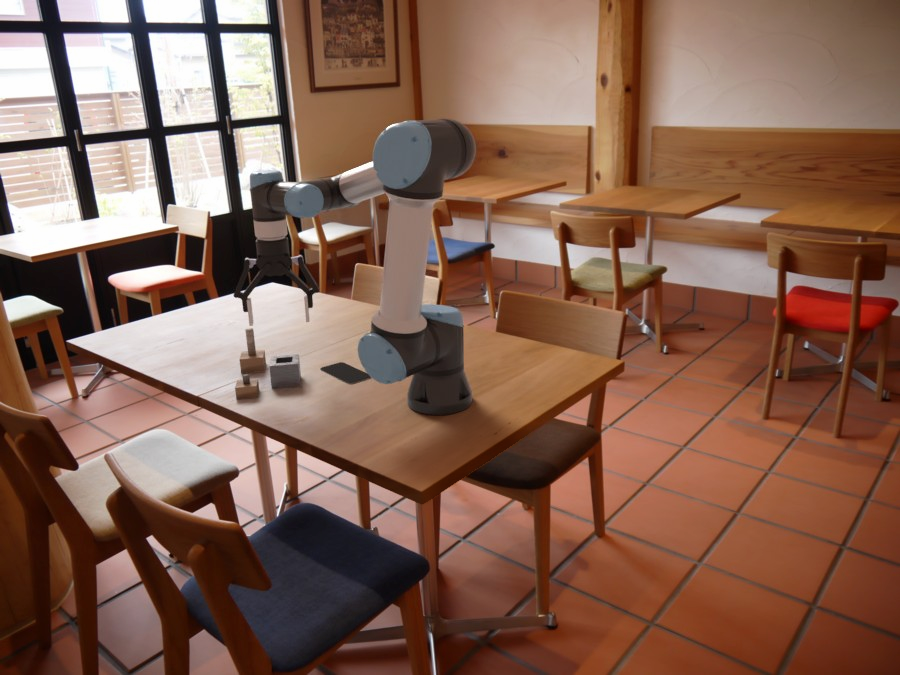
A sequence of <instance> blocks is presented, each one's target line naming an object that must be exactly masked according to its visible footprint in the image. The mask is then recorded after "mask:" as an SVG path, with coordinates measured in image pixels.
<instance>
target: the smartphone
mask: <svg viewBox="0 0 900 675" xmlns="http://www.w3.org/2000/svg"><path fill="white" fill-rule="evenodd" d="M320 371H321V372H324V373H326V374H327V375H329V376H331V377H333V378H336V380H337V379H338V380H339V381H342V382H343V383H345V384H348V385H354V384H357V383H360V382H364V381H366V380H370V379H372V378H371V377H370V376H369V375H368V373H367V372H366V371H363V370H361V369H358V368H357V367H354V366H352V365H350V364H348V363H346V362H343V361H339V362H337V363H332V364H329V365H326V366H321V367H320Z"/></svg>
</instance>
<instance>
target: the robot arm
mask: <svg viewBox="0 0 900 675" xmlns="http://www.w3.org/2000/svg"><path fill="white" fill-rule="evenodd" d="M476 146H477V144H476V140H475V138H474V135H473V133H472V131H470V129H469V128H468V127H467V126H466V125H465V124H464V123H462V122H460V121H458V120H455V119H451V118H439V119H422V120H420V119H419V120H411V119H409V120H404V121H402V122H398V123H397V122H396V123H393V124H391V125H389V126H387V127H386V128H385V129H384V130H383V131H382V132H381V133H380V134H379V135H378V137H377V139H376V140H375V143H374V146H373V151H372V161H370V162H367V163H365V164H362V165H360V166H358V167H355V168H352V169H350V170H347V171H345V172H343V173H339V174H338V175H334V176H331V177H324V178H318V179H310V180H303V181H284V176H283V172H282V171H280V170H277V169H265V170H264V169H263V170H262V169H261V170H255V171H253V172H251V173H250V175H249V185H250V186H249V187H250V188H249V191H250V198H251V199H250V200H251V209H252V217H253V227H254V236H255V238H256V240H255V246H256V258H250V257H247V256H246V257H245V258H244V262H243V270H242V273H241V276H240V277H239V280H238V282H237V286H236V288H235V291H234V293H233V297H234V298H235V299H236V298H237V299H240V300H241V302H242V304H241V305H242V311H243V312H244V313H247V314H248V316H247V317H248V325H249V327H252V326H254V314H253V304H252V298H251V293H252V292H253V291H254V289H255V288H256V287H257V286H258V284H259V282H260V281H261V280H262V279H263V278H264V276H267V277H269V278H270V277H274V276H276V277H281V276H283V275H286V277H288V278H289V279H290V280H291V281H292V282H293V283H294V284H295V285H296V286H297V287H299V289H300V290H301V291H303V293H304V295H303V297H304V298H303V299H304V311H305V312H304V313H305V322H306V323H310V311H309V310H310V309H312V308H313V307H314V302H313V295H314V294H318V293H319V292H320V286H319V285H318V283H317V281H316V280H315V278H314V277H313V275H312V274H311V272H310V270H309V269H308V267H307V266H306V264H305V262H304V261H305V260H304V256H303V255H302V254H298V255H297V256H291V255H290V246H289V238H288V237H287V235H288V226H287V216H288V217H295V218H298V219H304V218H307V219H312V218H315V217H316V216H317V215H318V214H319V213H325V212H328V211H334V210H339V209H340V210H341V209H349V208H352V207H354V206H357V205H359V204H360V203H361V202H365V201H367V200H369V199H372V198H376V197H378V196H381V195H384V194H385V196H387V197H388V199H389V203H388V216H387V226H386V235H385V236H386V237H385V248H384V258H383V271H382V283H381V292H380V293H381V294H380V303H379V309H378V310H376V312H373V314H372V316H371V323H370V332H366V333H365V334H364V335H363V336H362V337H361V338H359V341H358V344H357V354H358V358H359V361H360V364H361V366H362V367H363V368H364V372H365V373H368V375H369V376H370V377H371V378H370V379H372V380H374V381H376V382H378V383H379V384H382V385H390V384H395V383H397V382H398V383H399V382H402V381H404V380H405V379H406V378H409V377H411V380H410V382H409V383H410V384H409V387H408V390H407V397H406V398H407V406H408V407H409V408H410V409H411V410H413V411H415V412H416V413H417V412H418V413H421V414H424V415H431V416H432V415H433V416H434V415H435V416H442V415H443V416H444V415H451V414H456V413H459V412H462V411H465V410H467V409H468V408H469V407H470V406H471V405H472V403H473V391H472V388H471V386H470V382H469V381H468V377H467V374H466V372H465V354H464V353H465V352H464V350H465V349H464V346H465V344H464V343H465V342H464V337H465V336H464V328H465V326H464V319H463V316H464V315H463V313H462V311H461V310H460V309H458V308H457V307H455V306H450V305H444V304H423V298H424V289H425V282H426V281H425V280H426V273H427V272H426V271H427V264H428V256H429V255H428V254H429V249H430V248H429V246H430V238H431V229H432V219H433V212H434V205H435V204H436V203H437V202H438V201H440V200H441V199H442V198H443V195H444V194H443V193H444V185H445V181H447V180H451V179H455V178H458V177H460V176H462V175H464V174H465V173H466V172H467V171H468V170H469V169H470V168H471V167H472V165H473V164H474V161H475V159H476V153H477V147H476ZM292 263H294V264H295V265H296V266H298V267H299V270H300V272H302V274H303V276H304V277H305V279H306V281H307V282H308V283H309V285H310V286H308V285H307V284H306V283H305V282H304V281H303V280H302V279H301V278H300V277H299V276H298V275H297V273H295V272H294V271H293V270H292V269H291V267H290V266H291V264H292ZM254 265H256V266H257V267H258V268H259V269H260V270H259V271H258V272H257V273H256V275H255V277H253V280H252V281H251V282H250V283H249V285H248V286H247V287H246V289H245V290H244V291H243V292H242V288H243V286H244V284H245V281H246V279H247V277H248V275H249V272H250V269H252V268H253V267H254ZM310 287H311V288H310Z"/></svg>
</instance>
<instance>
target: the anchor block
mask: <svg viewBox="0 0 900 675" xmlns="http://www.w3.org/2000/svg"><path fill="white" fill-rule="evenodd" d="M241 377H242V379H237V380H236V383H235V387H234V389H235V398H236V400H244V399H256V398H258V397H259V393H260V386H259V385H260V384H259V378H250V373H243V374H242V375H241Z"/></svg>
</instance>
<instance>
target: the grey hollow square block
mask: <svg viewBox="0 0 900 675" xmlns="http://www.w3.org/2000/svg"><path fill="white" fill-rule="evenodd" d="M268 368H269V376H270V383H271V384H270V386H271V389H272V390H273V389H283V388H284V389H285V388H296V387H301V383H302V382H301V380H302V374H301V363H300V355H299V354H285V355H275V356H273V355H272V356H270V360H269V364H268Z"/></svg>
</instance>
